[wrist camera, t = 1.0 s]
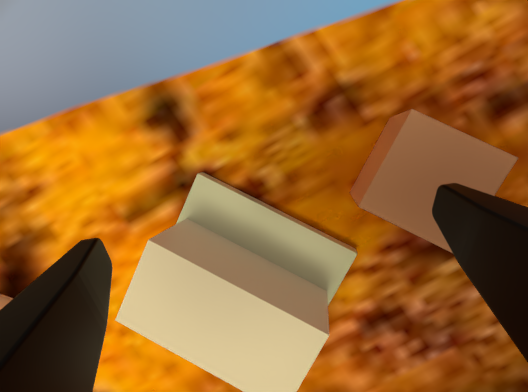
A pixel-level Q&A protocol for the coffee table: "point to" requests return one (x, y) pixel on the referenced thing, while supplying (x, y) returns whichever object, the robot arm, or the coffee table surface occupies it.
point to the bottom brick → (226, 309)
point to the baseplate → (268, 233)
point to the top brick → (424, 171)
